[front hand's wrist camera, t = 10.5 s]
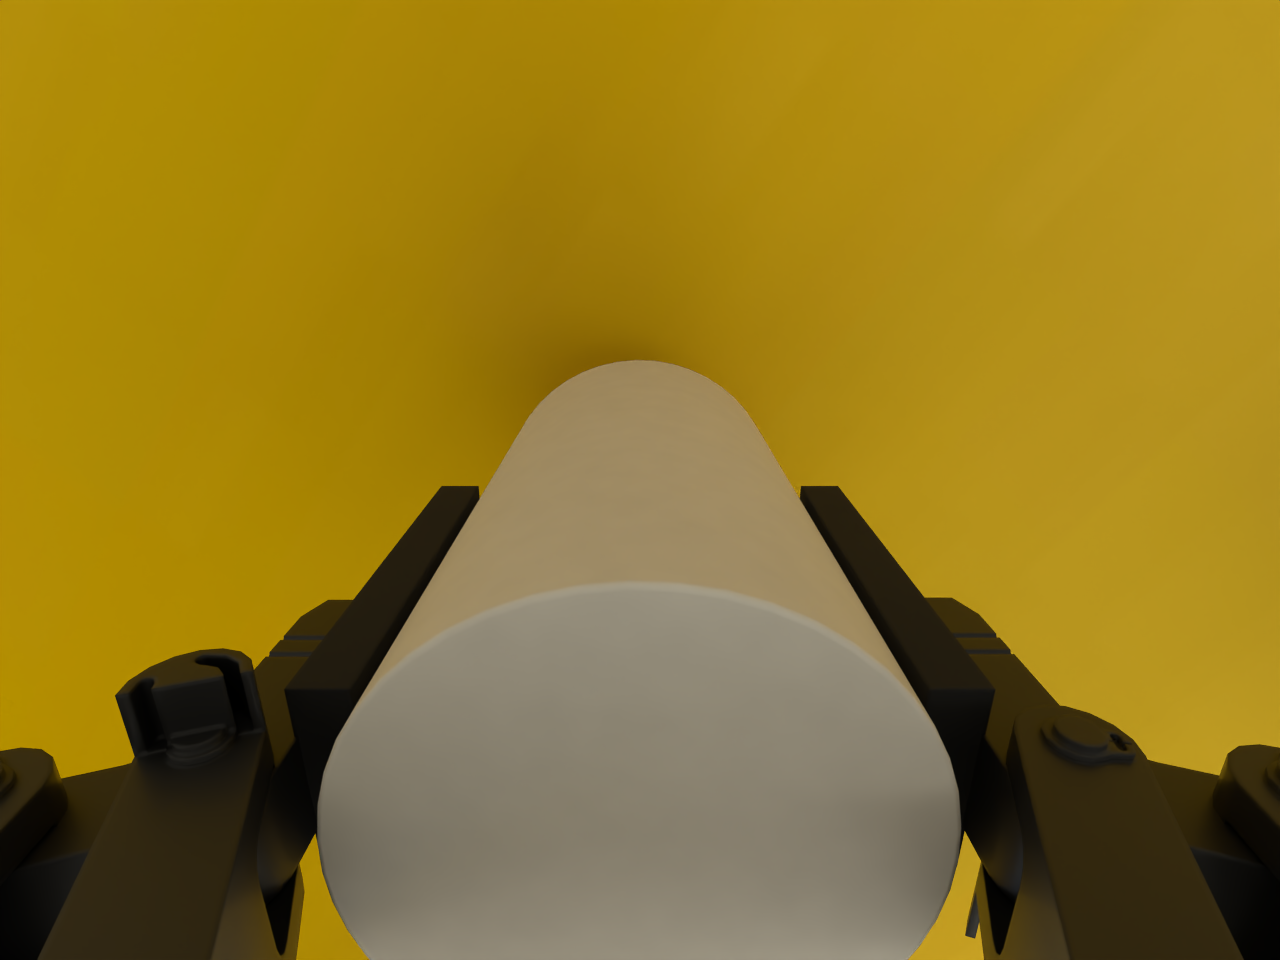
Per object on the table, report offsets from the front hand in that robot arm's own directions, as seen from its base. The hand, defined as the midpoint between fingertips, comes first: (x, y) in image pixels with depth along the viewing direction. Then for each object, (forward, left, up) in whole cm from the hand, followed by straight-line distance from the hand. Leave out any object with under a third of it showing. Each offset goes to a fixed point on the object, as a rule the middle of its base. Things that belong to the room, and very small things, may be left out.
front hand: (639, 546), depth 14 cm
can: (0, 0, -3) cm, 3 cm away
